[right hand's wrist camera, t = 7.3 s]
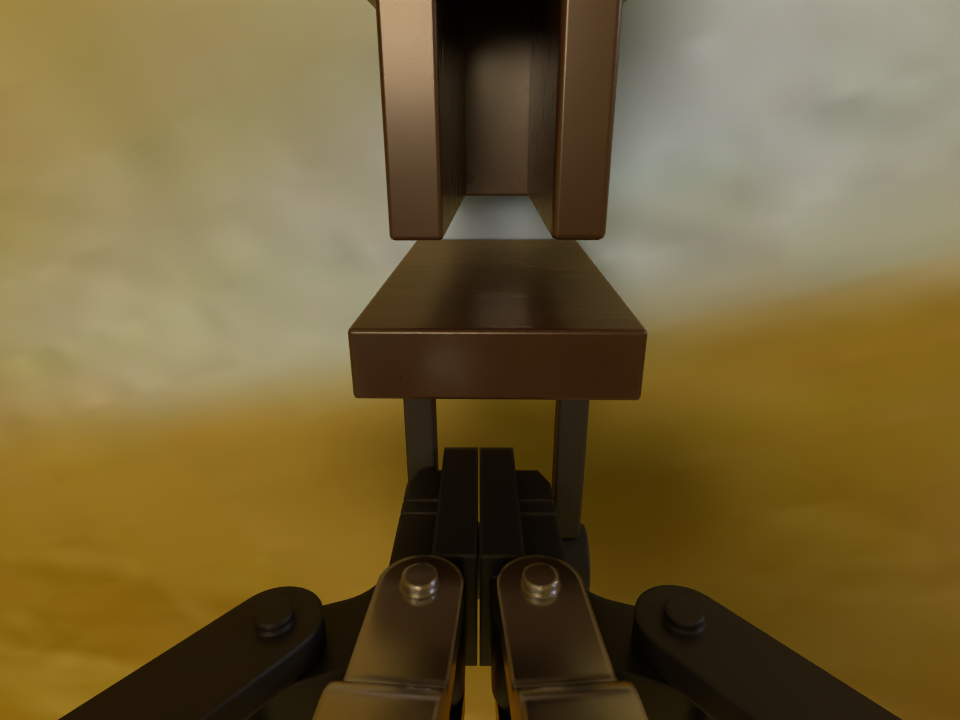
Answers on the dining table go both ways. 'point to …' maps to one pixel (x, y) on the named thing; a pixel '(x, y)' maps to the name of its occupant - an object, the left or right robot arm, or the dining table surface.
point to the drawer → (499, 263)
